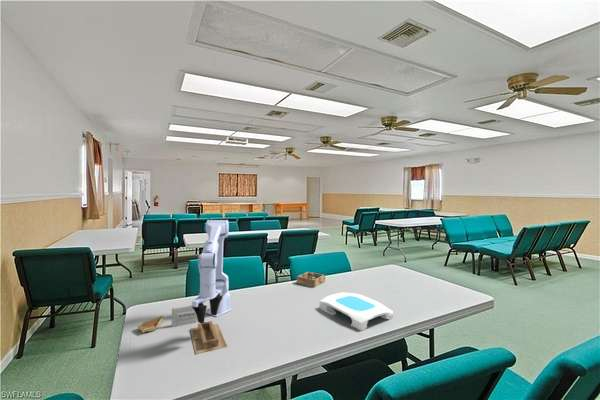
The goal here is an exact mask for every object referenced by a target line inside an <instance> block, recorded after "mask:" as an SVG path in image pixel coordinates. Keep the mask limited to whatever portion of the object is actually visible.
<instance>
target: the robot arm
mask: <svg viewBox="0 0 600 400" xmlns="http://www.w3.org/2000/svg"><path fill="white" fill-rule="evenodd" d="M229 223H230V222H229V220H228V219H226V220H225V219H220V220H219V219H217V220H215V219H211V220H210V219H207V221H206V222H205V232H206V234H207V236H208V240H206V241H205V242H204V245H203V249H202V252H201V253H200V254H198V257H197V258H198V261H197V262H198V263H197V267H198V273H199V293H198V295H197V297H196V298H195V299H194V300H192V301H191V305H192V308H193V309H194V311H195V313H196V315H197V318H198V322H197V323H204V322H205V318H206V317H205V315H206V314H208V315H210V316H213V317H215V318H217V317H220V316H222V315H224V314H226V313H228V312H231V311H232V310H233V309H232V308H231V305H232V304H231V300H232V299H231V293H230V292H229V288H230V287H229V284H230V283H229V282H230V281H229V276H228V275H227V274H226V273H224V272H223V267H224V241H225V238H228V237H229V233H230V232H229V228H230V227H229V226H230V225H229ZM207 301H209V310H207V307H208V305H206V304H205V302H207Z"/></svg>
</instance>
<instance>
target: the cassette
mask: <svg viewBox="0 0 600 400" xmlns="http://www.w3.org/2000/svg"><path fill="white" fill-rule="evenodd" d="M189 313H190V314H189ZM185 314H186V315H185ZM196 323H197V324H198V323H199V322H198V318H197V315H196V313H195V311H194V309H193V308H192V304H191V305H184V306H178V307H173V308H171V327H172V328H174V327H180V326H185V325H190V324H196Z"/></svg>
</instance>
